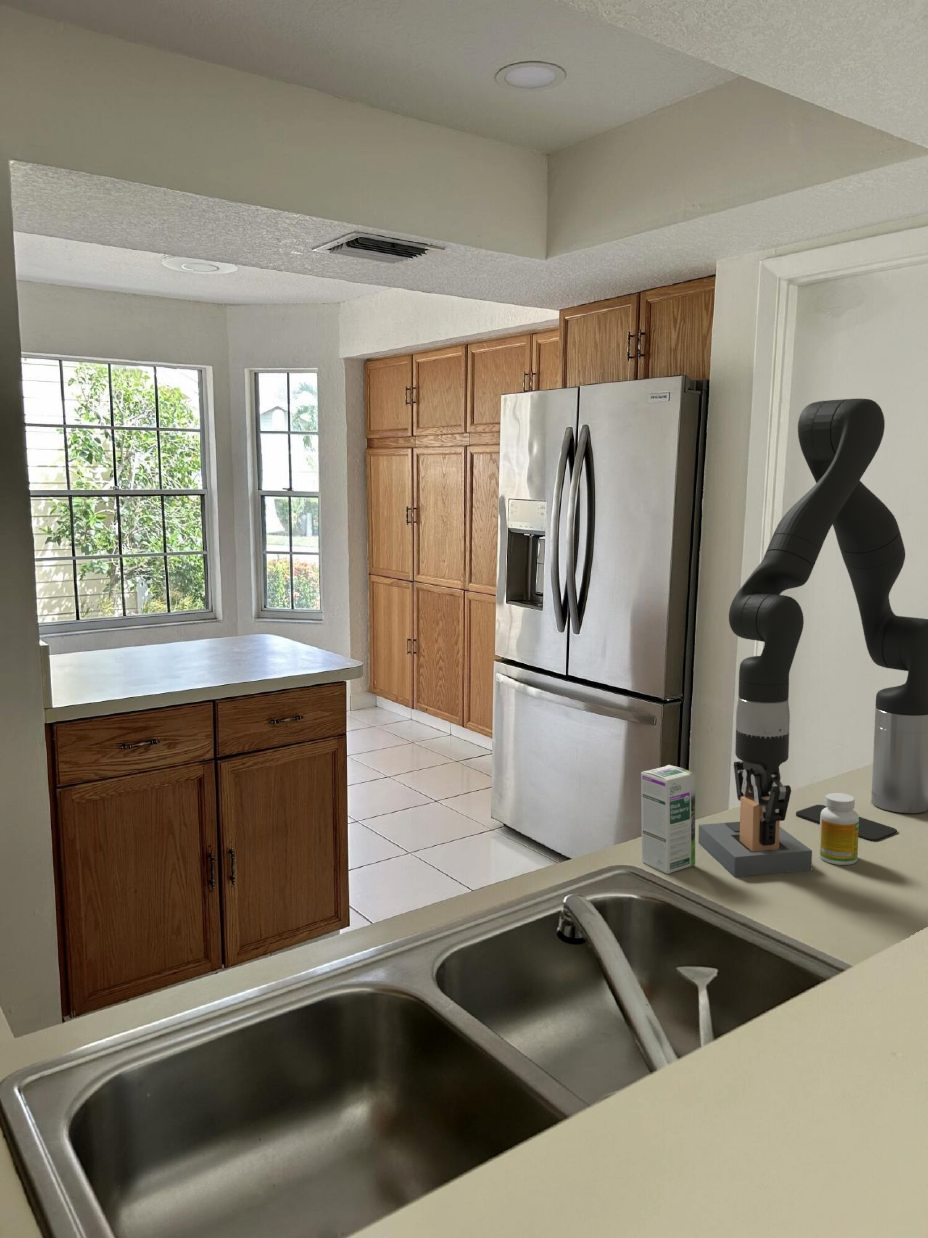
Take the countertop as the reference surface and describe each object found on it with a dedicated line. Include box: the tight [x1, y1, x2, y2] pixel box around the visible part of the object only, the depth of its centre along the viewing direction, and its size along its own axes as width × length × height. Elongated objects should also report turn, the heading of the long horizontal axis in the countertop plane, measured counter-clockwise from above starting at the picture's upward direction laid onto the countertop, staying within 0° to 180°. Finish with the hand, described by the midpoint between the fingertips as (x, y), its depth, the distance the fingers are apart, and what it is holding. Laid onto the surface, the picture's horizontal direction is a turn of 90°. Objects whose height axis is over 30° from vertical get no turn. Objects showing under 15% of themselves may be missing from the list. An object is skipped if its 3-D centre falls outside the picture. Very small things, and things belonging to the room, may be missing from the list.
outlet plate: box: [697, 821, 813, 878], centre depth 139 cm, size 12×13×3 cm
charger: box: [739, 796, 781, 852], centre depth 137 cm, size 4×4×7 cm
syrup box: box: [640, 764, 696, 875], centre depth 136 cm, size 6×6×14 cm
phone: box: [795, 804, 898, 842], centre depth 152 cm, size 7×1×15 cm
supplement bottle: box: [818, 792, 860, 866], centre depth 137 cm, size 5×5×10 cm
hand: (759, 837), depth 137 cm, fingers closed on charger, 4 cm apart
